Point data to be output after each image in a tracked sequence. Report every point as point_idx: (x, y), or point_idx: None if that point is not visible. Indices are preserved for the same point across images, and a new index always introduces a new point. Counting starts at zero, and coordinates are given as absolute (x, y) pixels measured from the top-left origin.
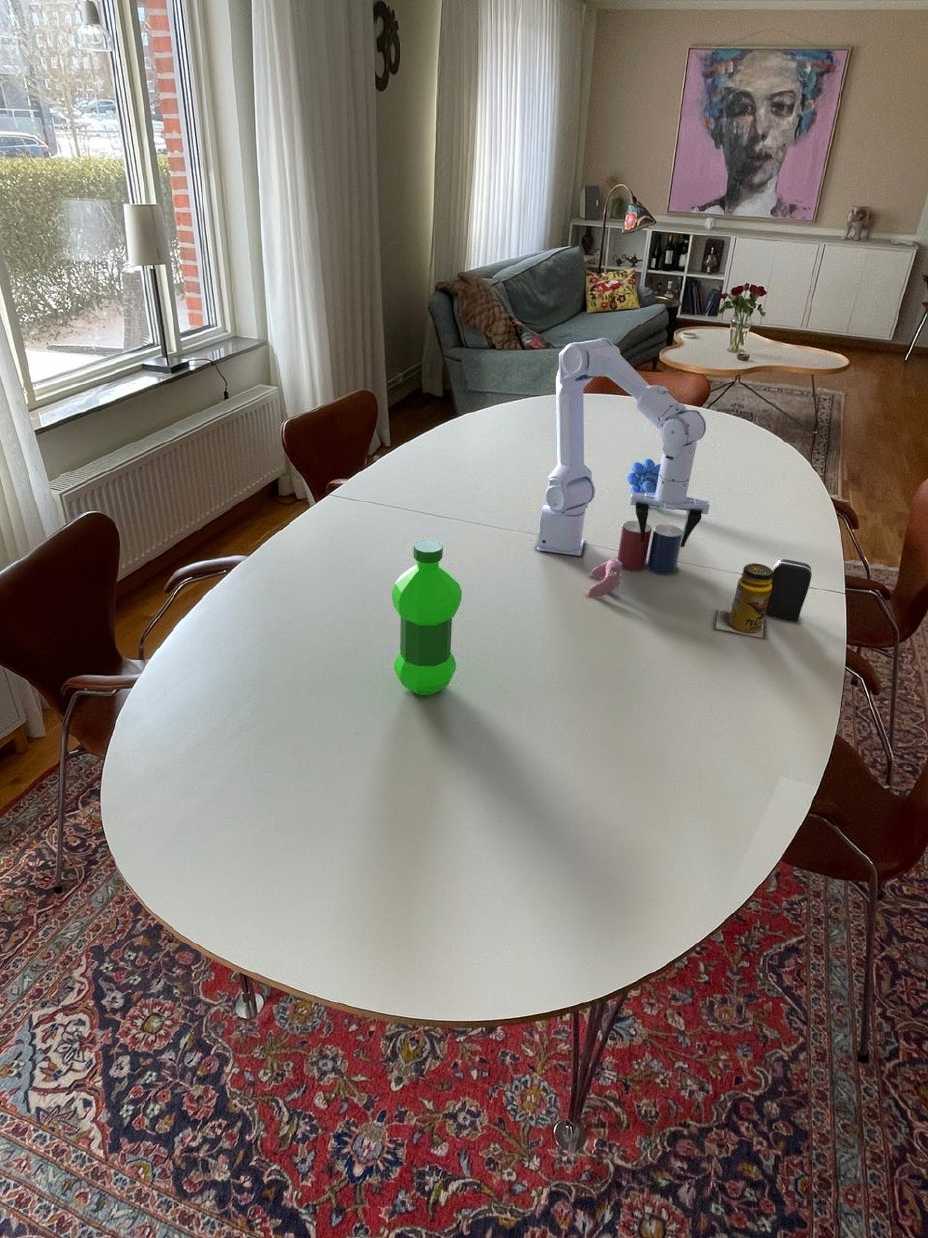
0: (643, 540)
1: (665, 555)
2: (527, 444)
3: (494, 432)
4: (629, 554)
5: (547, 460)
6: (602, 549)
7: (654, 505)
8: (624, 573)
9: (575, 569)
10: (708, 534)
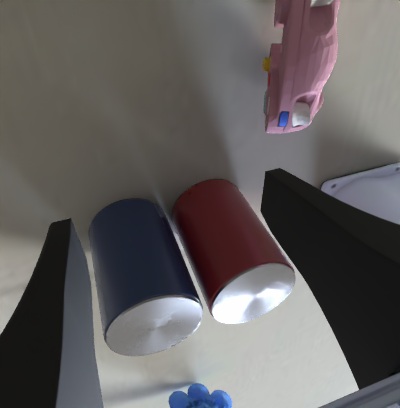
0: (274, 172)
1: (132, 242)
2: (336, 391)
3: None
4: (233, 207)
5: (321, 383)
6: (270, 233)
7: (384, 390)
8: (221, 154)
9: (343, 114)
10: None
